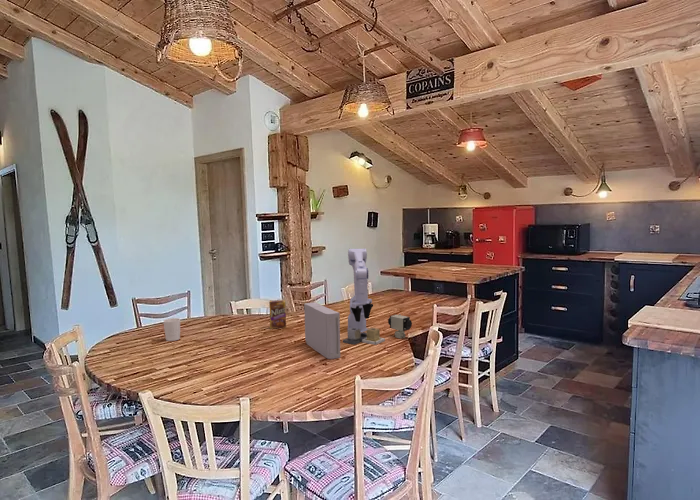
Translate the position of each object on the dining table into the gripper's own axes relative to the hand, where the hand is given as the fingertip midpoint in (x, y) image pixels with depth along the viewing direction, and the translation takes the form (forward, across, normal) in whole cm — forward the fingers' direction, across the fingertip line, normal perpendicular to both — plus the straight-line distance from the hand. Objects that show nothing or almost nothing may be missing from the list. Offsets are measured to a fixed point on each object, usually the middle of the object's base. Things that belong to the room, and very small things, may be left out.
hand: (362, 319), depth 224 cm
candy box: (+10, -6, +53) cm, 54 cm away
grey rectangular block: (+10, -5, +2) cm, 11 cm away
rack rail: (+10, -1, +2) cm, 10 cm away
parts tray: (+10, 0, -6) cm, 12 cm away
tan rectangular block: (+10, 0, -6) cm, 12 cm away
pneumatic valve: (+10, +14, -13) cm, 22 cm away
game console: (+10, -24, +6) cm, 27 cm away
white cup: (+10, -52, +82) cm, 98 cm away
